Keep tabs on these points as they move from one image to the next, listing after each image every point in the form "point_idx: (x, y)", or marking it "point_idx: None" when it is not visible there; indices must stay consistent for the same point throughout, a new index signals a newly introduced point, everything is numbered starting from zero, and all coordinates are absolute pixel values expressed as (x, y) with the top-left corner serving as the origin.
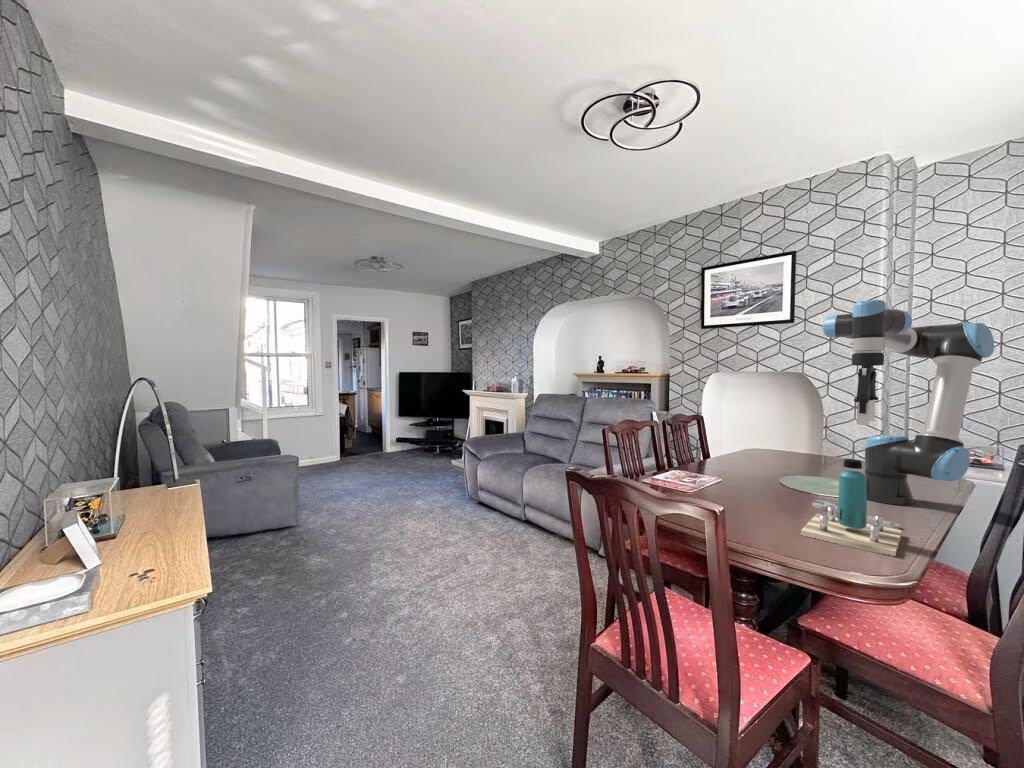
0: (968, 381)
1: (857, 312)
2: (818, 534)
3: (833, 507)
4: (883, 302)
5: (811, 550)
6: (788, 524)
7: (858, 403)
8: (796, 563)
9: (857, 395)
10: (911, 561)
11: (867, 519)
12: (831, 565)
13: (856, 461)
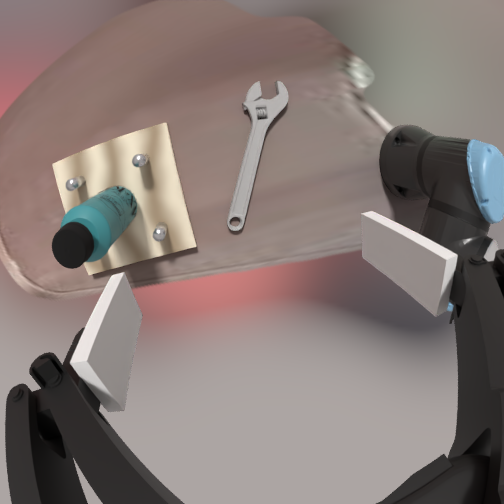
0: None
1: None
2: (58, 187)
3: (141, 162)
4: None
5: (22, 206)
6: (89, 119)
7: (76, 362)
8: None
9: (7, 413)
10: (96, 286)
11: (237, 182)
12: (9, 242)
13: (61, 262)
